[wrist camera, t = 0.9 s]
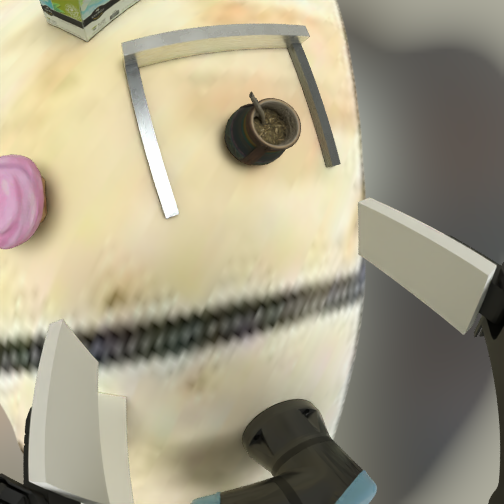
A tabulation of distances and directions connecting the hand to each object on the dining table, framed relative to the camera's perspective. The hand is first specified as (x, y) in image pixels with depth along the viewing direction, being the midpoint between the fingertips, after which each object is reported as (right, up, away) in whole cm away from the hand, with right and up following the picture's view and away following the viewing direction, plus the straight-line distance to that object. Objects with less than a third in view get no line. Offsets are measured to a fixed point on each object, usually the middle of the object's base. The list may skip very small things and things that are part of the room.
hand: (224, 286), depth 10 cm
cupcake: (-24, +7, +13) cm, 28 cm away
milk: (-20, -21, +20) cm, 35 cm away
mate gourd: (0, +15, +21) cm, 26 cm away
